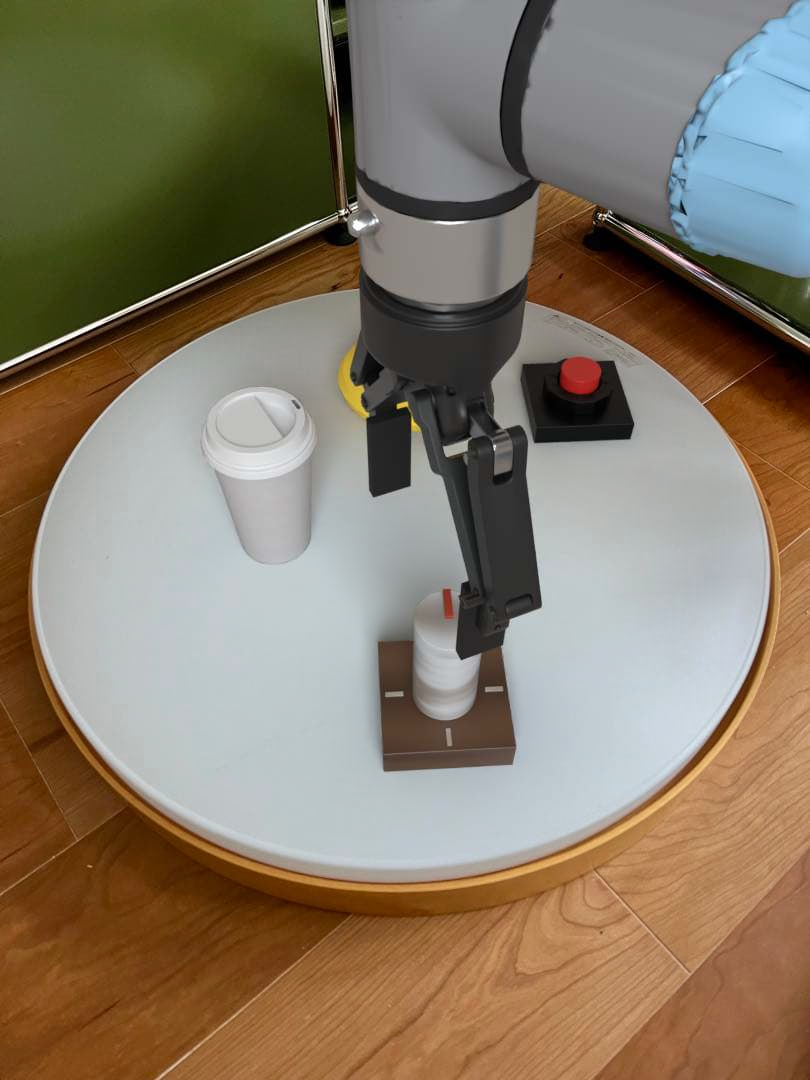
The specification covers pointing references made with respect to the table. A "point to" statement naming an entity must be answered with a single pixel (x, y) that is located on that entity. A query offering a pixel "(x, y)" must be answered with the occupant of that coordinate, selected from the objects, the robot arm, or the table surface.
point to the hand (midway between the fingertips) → (431, 562)
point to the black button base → (575, 406)
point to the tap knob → (441, 660)
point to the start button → (580, 375)
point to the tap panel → (443, 742)
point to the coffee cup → (264, 469)
